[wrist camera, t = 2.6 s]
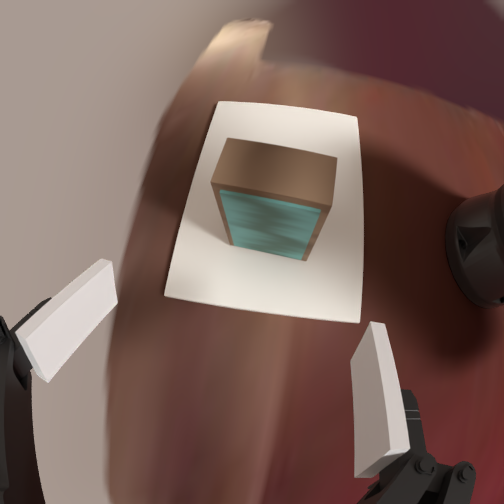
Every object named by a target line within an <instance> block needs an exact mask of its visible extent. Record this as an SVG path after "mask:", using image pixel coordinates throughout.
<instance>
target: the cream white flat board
mask: <svg viewBox="0 0 504 504" xmlns="http://www.w3.org/2000/svg"><path fill="white" fill-rule="evenodd" d="M227 138H235V139H242V140H249V141H256V142H262V143H268V144H274V145H280V146H285V147H290V148H296V149H301V150H306V151H310V152H315V153H320V154H324V155H328V156H333V157H337V158H338V159H337V169H336V178H335V187H334V196H333V204H332V207H331V210H330V212H329V214H328V216H327V218H326V221H325V223H324V225H323V227H322V229H321V232H320V234H319V236H318V238H317V240H316V242H315V244H314V246H313V248H312V251H311V253H310V255H309V257H308V259H307V261H302V260H297V259H292V258H288V257H283V256H279V255H274V254H269V253H265V252H260V251H256V250H251V249H246V248H242V247H237V246H232V245H230V243H229V240H228V237H227V234H226V231H225V228H224V224H223V221H222V218H221V215H220V212H219V208H218V205H217V202H216V199H215V196H214V192H213V189H212V186H211V183H210V181H211V179H212V176H213V173H214V171H215V168H216V165H217V163H218V160H219V157H220V155H221V152H222V150H223V147H224V144H225V142H226V139H227ZM363 255H364V210H363V183H362V166H361V152H360V141H359V131H358V122H357V117H354V116H349V115H344V114H339V113H333V112H327V111H321V110H315V109H308V108H300V107H292V106H283V105H273V104H262V103H248V102H226V101H219V102H218V105H217V107H216V110H215V113H214V116H213V119H212V122H211V125H210V127H209V130H208V133H207V136H206V139H205V143H204V146H203V149H202V152H201V155H200V158H199V161H198V165H197V168H196V171H195V175H194V178H193V181H192V185H191V188H190V192H189V195H188V199H187V202H186V206H185V210H184V213H183V217H182V221H181V225H180V229H179V232H178V236H177V240H176V244H175V249H174V253H173V257H172V261H171V265H170V270H169V274H168V279H167V283H166V288H165V293H164V296H166V297H170V298H176V299H181V300H186V301H192V302H198V303H203V304H209V305H215V306H221V307H228V308H234V309H241V310H247V311H254V312H261V313H269V314H276V315H284V316H292V317H300V318H309V319H318V320H327V321H337V322H348V323H360V313H361V300H362V283H363Z"/></svg>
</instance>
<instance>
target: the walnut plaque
mask: <svg viewBox="0 0 504 504" xmlns="http://www.w3.org/2000/svg"><path fill="white" fill-rule="evenodd" d="M337 159H338V158H337V157H333V156H328V155H324V154H320V153H315V152H310V151H306V150H301V149H296V148H290V147H285V146H280V145H274V144H268V143H262V142H256V141H249V140H242V139H235V138H227V139H226V142H225V144H224V147H223V150H222V152H221V155H220V157H219V160H218V163H217V165H216V168H215V171H214V173H213V176H212V179H211V181H210V183H211V186H212V189H213V192H214V196H215V199H216V202H217V205H218V208H219V212H220V215H221V218H222V221H223V224H224V228H225V231H226V234H227V237H228V240H229V243H230V245H232V246H237V247H242V248H246V249H251V250H256V251H260V252H265V253H269V254H274V255H279V256H283V257H288V258H292V259H297V260H302V261H307V259H308V257H309V255H310V253H311V251H312V248H313V246H314V244H315V242H316V240H317V238H318V236H319V234H320V232H321V229H322V227H323V225H324V223H325V221H326V218H327V216H328V214H329V212H330V210H331V207H332V204H333V196H334V187H335V178H336V169H337Z"/></svg>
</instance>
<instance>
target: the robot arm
mask: <svg viewBox="0 0 504 504" xmlns="http://www.w3.org/2000/svg"><path fill="white" fill-rule="evenodd" d="M445 241H446V252H447V257H448V261H449V265H450V268H451V271H452V273H453V276H454V278H455V280H456V282H457V284H458V285H459V287H460V289H461V290H462V292H463V293H464V294H465V295H466V296H467V298H468V299H469V300H471V301H472V302H473V303H474V304H476V305H478V306H480V307H482V308H487V309H491V308H496V307H499V306H502V305H504V185H502V186H501V187H500V188H499V189H498V190H496V191H492V192H489V193H485V194H482V195H478V196H475V197H471V198H469V199H467V200H465V201H464V202H463V203H461V204H460V205H459V206H458V207H457V208H456V209H455V210H454V211H453V212H452V213H451V215H450V217H449V220H448V223H447V227H446V236H445ZM117 303H118V302H117V295H116V289H115V282H114V274H113V266H112V261H109V260H105V259H102V258H101V259H100V260H98V261H97V262H96V263H95V264H93V265H92V266H91V267H89V268H88V269H87V270H86V271H84V272H83V273H82V274H81V275H79V276H78V277H77V278H76V279H75V280H73V281H72V282H71V283H70V284H68V285H67V286H66V287H65V288H64V289H63V290H61V291H60V292H59V293H58V294H57V295H55V296H54V297H53V298H48V299H46V300H44V301H42V302H41V303H39V304H38V305H37V306H36V307H35V309H33V310H31V311H30V312H29V314H27V315H26V316H25V317H24V318H23V319H22V320H21V321H19V322H18V323H17V324H16V325H15V326H14V327H13V328H12V329H11V330H10V331H9V329H8V328H7V325H6V323H5V320H4V319H3V317H2V316H0V504H45V500H44V496H43V491H42V488H41V482H40V477H39V471H38V466H37V459H36V452H35V444H34V434H33V421H32V400H31V398H32V395H31V383H32V381H31V380H32V376H31V372H30V370H31V369H32V368H33V369H34V370H35V372H36V374H37V376H39V377H40V378H42V379H43V380H44V381H46V382H49V381H50V380H51V379H52V378H53V376H54V375H55V374H56V373H57V371H58V370H59V369H60V368H61V367H62V365H63V364H64V363H65V362H66V361H67V360H68V358H69V357H70V356H71V355H72V354H73V352H74V351H75V350H76V349H77V348H78V347H79V345H80V344H81V343H82V342H83V341H84V340H85V339H86V338H87V336H88V335H89V334H90V333H91V332H92V331H93V330H94V328H95V327H96V326H97V325H98V324H99V323H100V322H101V321H102V319H104V317H105V316H106V315H107V314H108V313H109V312H110V311H111V310H112V309H113V308H114V307H115V306H116V305H117ZM350 362H351V374H352V388H353V406H354V433H355V477H354V478H368V477H373V476H375V475H376V474H378V473H379V478H380V479H379V480H378V481H376V482H375V483H373V484H372V485H370V486H369V487H368V489H370V488H371V489H370V490H369V491H368V492H367V493H366V494H365V495H364V496H363V498H362V499H361V500H360V501H359V502H358V503H357V504H470V500H471V496H472V492H473V488H474V484H475V479H476V472H475V468H474V467H473V465H472V464H470V463H469V462H465V461H462V462H460V463H458V464H456V465H455V466H454V467H452V466H448V465H443V464H439V463H437V462H436V460H435V458H434V457H433V456H432V455H431V454H429V453H427V451H426V446H425V440H424V434H423V429H422V423H421V420H420V413H419V412H418V410H419V409H418V404H417V400H416V398H415V396H414V395H413V393H412V392H411V390H403V389H400V385H399V380H398V376H397V371H396V367H395V363H394V358H393V354H392V350H391V346H390V342H389V338H388V335H387V331H386V327H385V324H383V323H377V322H371V321H370V323H369V325H368V327H367V329H366V332H365V334H364V336H363V338H362V340H361V342H360V344H359V346H358V348H357V349H356V351H355V353H354V355H353V357H352V359H351V361H350Z"/></svg>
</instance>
